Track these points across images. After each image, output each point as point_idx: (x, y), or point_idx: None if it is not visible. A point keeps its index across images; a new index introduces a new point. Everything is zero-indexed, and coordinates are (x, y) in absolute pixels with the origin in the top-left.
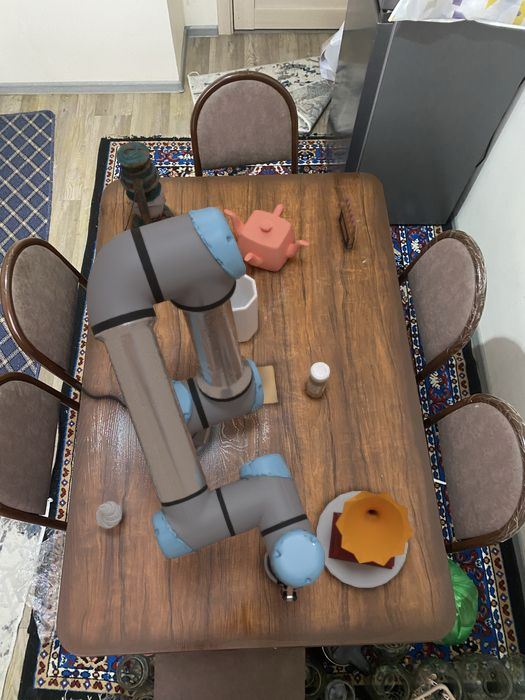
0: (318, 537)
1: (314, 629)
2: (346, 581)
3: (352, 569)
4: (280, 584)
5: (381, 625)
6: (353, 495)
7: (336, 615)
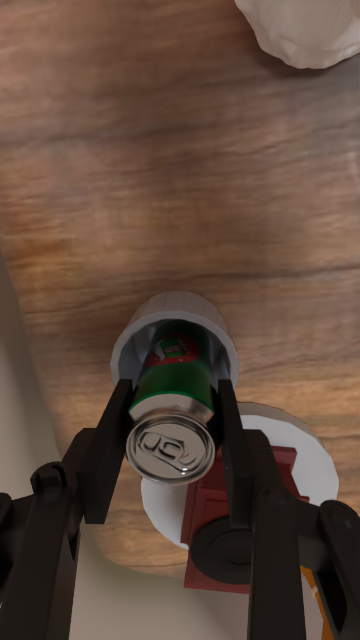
0: None
1: (53, 402)
2: None
3: None
4: (35, 491)
5: None
6: (329, 483)
7: None
